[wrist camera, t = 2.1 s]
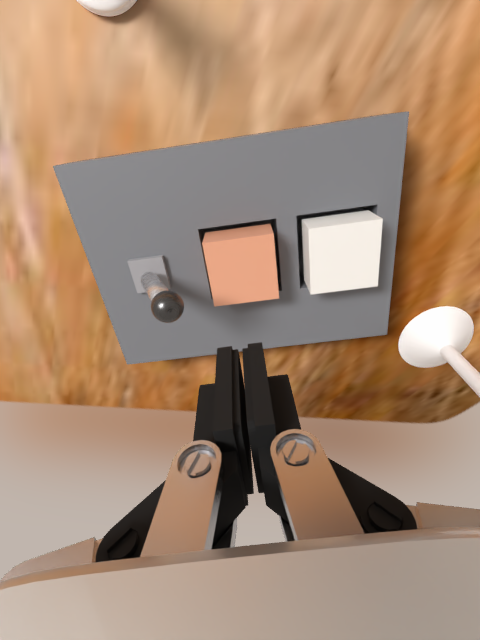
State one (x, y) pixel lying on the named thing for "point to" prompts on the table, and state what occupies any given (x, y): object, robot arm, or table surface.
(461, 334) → the champagne flute
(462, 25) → the table surface
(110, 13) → the chess piece
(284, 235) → the panel
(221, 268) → the button terracotta
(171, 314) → the toggle lever
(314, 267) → the button white
